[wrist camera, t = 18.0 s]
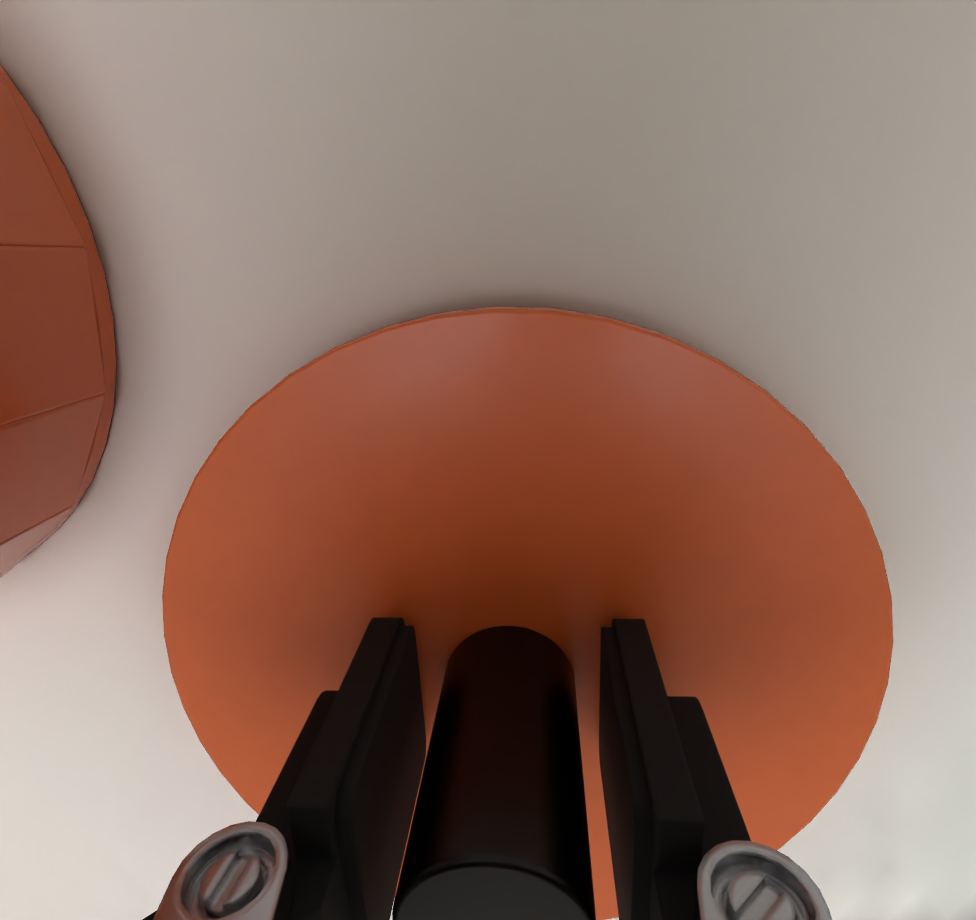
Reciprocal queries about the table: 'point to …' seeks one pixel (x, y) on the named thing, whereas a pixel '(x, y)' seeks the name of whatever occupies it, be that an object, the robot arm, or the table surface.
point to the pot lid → (529, 585)
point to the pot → (47, 337)
